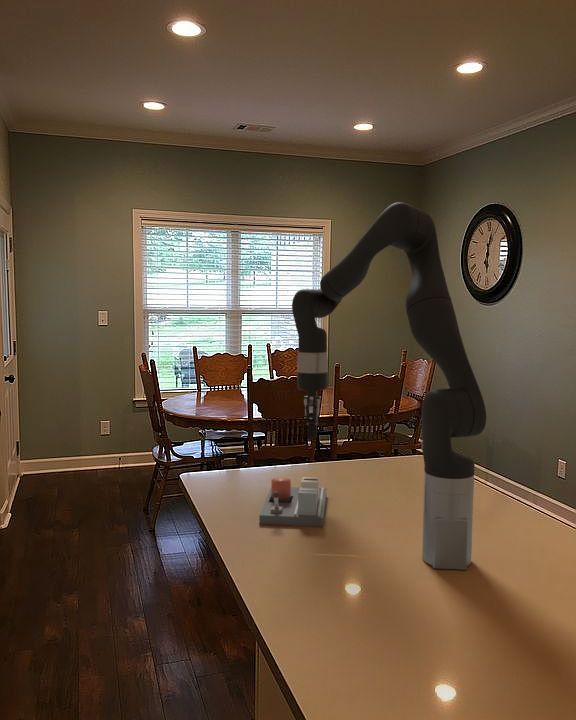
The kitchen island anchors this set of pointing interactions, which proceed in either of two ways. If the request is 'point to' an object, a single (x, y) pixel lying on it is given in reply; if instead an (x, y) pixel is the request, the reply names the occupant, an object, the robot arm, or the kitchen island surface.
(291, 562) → the kitchen island surface
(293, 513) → the panel
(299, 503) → the slate-blue fader knob
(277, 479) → the red push button
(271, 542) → the kitchen island surface
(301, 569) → the kitchen island surface
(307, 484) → the cream fader knob
